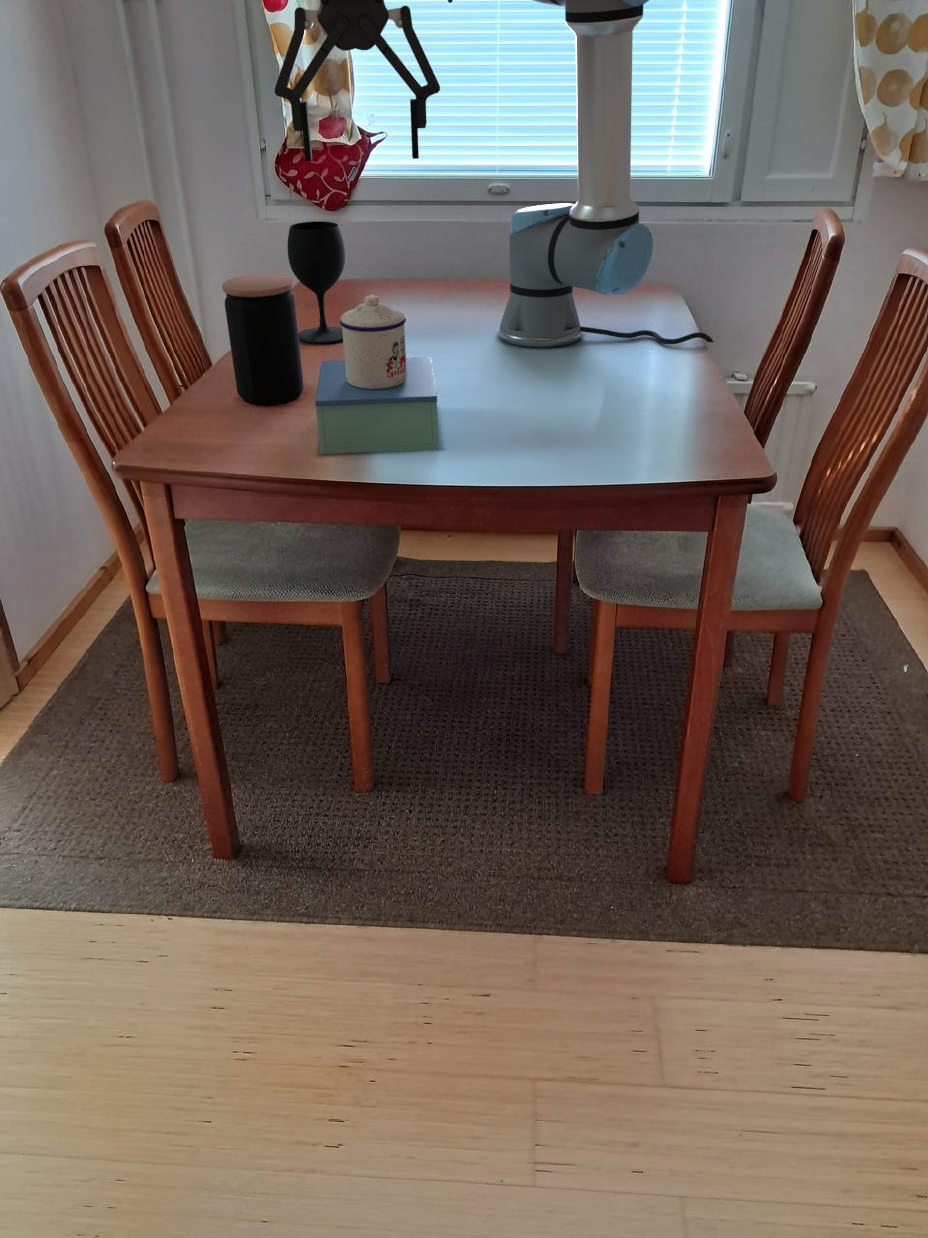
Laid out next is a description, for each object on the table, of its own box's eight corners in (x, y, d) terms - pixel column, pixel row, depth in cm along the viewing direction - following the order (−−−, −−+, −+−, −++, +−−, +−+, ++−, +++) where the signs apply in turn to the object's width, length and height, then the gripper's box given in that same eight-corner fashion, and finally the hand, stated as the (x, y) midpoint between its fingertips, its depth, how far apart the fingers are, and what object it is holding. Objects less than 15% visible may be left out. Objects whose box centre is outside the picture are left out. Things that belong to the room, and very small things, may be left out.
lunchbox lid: (437, 401, 131) (437, 396, 131) (315, 406, 130) (315, 400, 130) (431, 362, 146) (431, 356, 146) (321, 366, 145) (321, 360, 145)
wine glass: (286, 341, 181) (273, 229, 171) (314, 326, 189) (303, 218, 179) (335, 346, 178) (325, 232, 167) (360, 331, 186) (352, 221, 175)
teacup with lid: (400, 392, 132) (395, 306, 126) (336, 389, 134) (329, 304, 128) (419, 365, 142) (416, 284, 136) (360, 362, 144) (354, 282, 137)
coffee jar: (316, 388, 158) (304, 276, 149) (285, 410, 150) (271, 292, 140) (258, 382, 161) (244, 271, 152) (225, 403, 153) (208, 287, 143)
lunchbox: (438, 449, 136) (436, 399, 132) (321, 454, 135) (315, 404, 131) (432, 408, 150) (431, 362, 146) (326, 412, 149) (321, 366, 145)
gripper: (454, -43, 115) (457, 152, 126) (244, -41, 114) (266, 157, 125) (458, -46, 109) (461, 159, 120) (236, -44, 107) (261, 164, 119)
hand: (362, 158), depth 123 cm, fingers open, 13 cm apart
